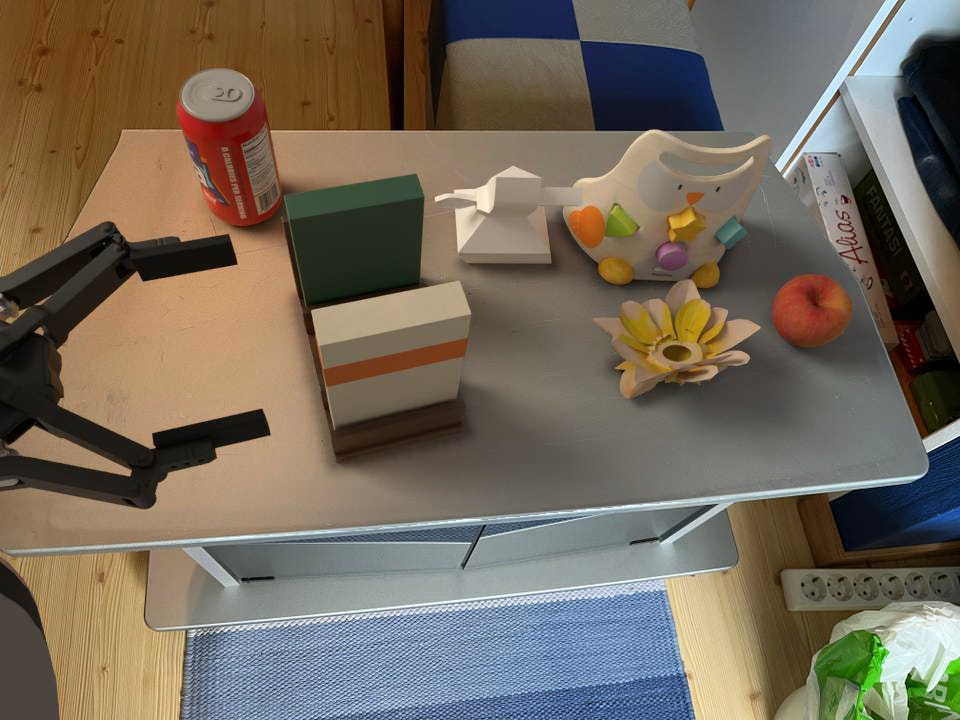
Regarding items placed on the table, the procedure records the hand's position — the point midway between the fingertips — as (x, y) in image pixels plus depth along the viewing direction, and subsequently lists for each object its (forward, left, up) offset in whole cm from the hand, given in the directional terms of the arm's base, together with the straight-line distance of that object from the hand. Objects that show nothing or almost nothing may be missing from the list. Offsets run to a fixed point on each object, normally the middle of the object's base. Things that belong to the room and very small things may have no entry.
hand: (249, 330), depth 50 cm
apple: (+26, -46, -21) cm, 57 cm away
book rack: (+10, -5, -20) cm, 23 cm away
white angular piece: (+28, -13, -21) cm, 37 cm away
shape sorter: (+32, -30, -21) cm, 49 cm away
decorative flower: (+19, -33, -21) cm, 44 cm away
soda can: (+25, +14, -21) cm, 35 cm away
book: (+5, -8, -19) cm, 22 cm away
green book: (+16, -2, -19) cm, 25 cm away
